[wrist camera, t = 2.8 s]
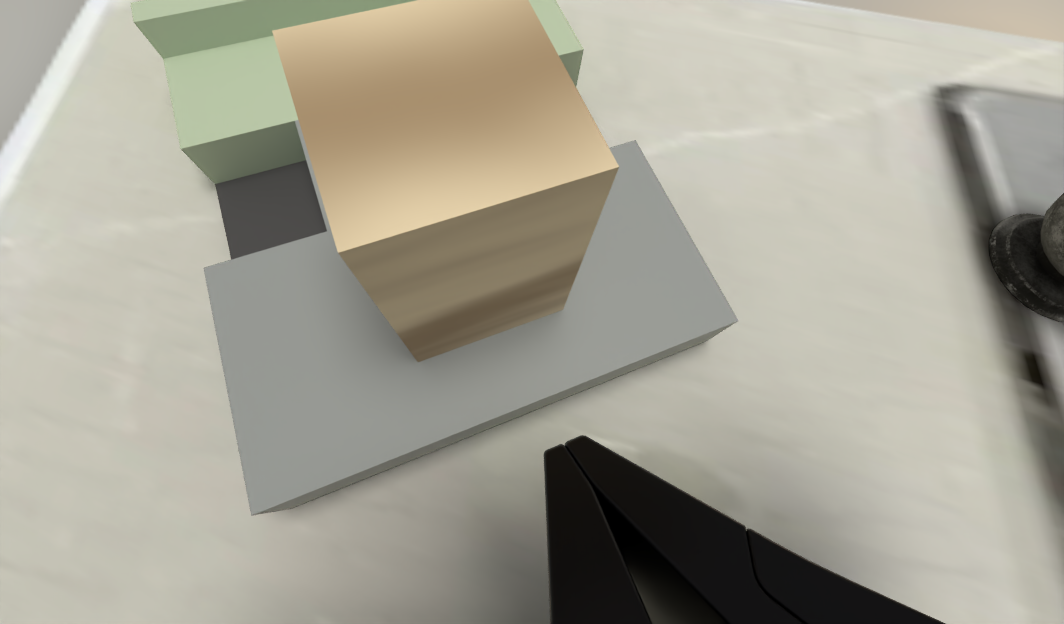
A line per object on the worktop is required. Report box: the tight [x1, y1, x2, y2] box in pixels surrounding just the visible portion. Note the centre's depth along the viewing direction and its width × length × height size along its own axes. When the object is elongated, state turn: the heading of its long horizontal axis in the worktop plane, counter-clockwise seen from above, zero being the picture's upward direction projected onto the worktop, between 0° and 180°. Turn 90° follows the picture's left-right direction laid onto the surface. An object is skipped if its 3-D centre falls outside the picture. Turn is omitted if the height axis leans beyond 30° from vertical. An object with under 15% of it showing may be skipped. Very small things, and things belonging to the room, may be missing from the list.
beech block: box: [272, 0, 619, 362], centre depth 12 cm, size 5×5×8 cm
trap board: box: [131, 0, 738, 515], centre depth 17 cm, size 18×16×4 cm
